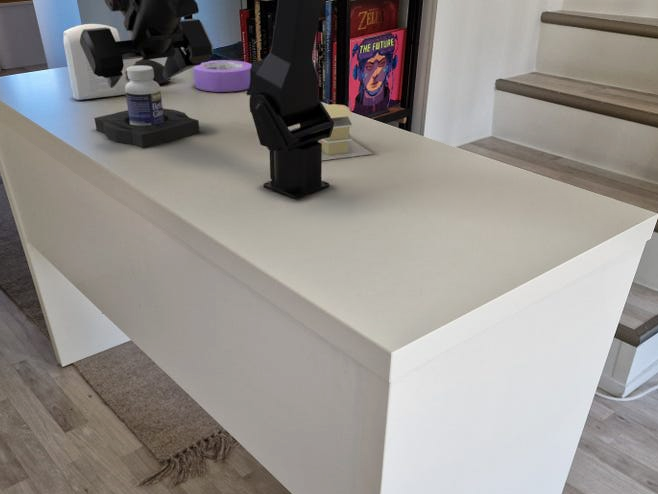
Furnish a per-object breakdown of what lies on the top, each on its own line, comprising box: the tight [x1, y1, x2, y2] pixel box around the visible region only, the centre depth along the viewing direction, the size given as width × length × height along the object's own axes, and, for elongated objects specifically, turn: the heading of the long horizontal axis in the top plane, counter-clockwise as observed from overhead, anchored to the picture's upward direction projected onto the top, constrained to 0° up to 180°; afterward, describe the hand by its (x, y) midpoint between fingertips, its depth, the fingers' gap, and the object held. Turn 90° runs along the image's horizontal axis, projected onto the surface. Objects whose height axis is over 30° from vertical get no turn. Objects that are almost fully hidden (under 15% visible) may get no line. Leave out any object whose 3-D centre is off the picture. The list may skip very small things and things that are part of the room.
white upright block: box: [62, 23, 127, 101], centre depth 123 cm, size 10×4×12 cm, turn 123°
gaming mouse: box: [125, 58, 172, 85], centre depth 137 cm, size 6×15×4 cm, turn 42°
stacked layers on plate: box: [318, 103, 373, 161], centre depth 101 cm, size 10×9×6 cm
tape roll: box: [192, 59, 252, 93], centre depth 133 cm, size 12×12×4 cm
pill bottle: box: [125, 65, 164, 126], centre depth 106 cm, size 5×5×10 cm
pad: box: [94, 107, 201, 149], centre depth 108 cm, size 13×13×2 cm
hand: (138, 80), depth 105 cm, fingers open, 9 cm apart
